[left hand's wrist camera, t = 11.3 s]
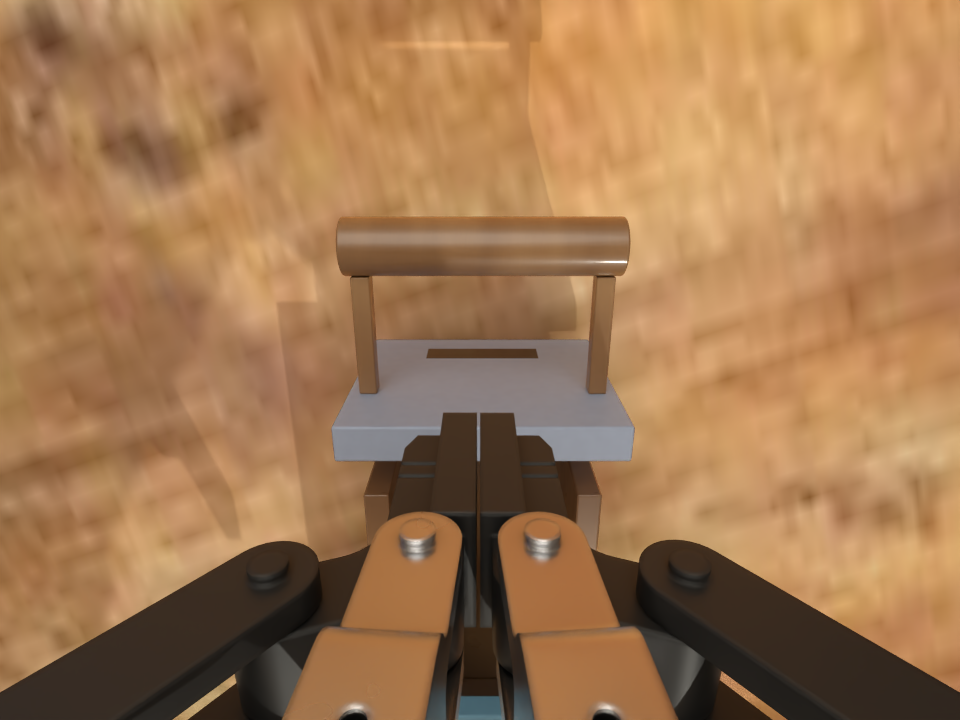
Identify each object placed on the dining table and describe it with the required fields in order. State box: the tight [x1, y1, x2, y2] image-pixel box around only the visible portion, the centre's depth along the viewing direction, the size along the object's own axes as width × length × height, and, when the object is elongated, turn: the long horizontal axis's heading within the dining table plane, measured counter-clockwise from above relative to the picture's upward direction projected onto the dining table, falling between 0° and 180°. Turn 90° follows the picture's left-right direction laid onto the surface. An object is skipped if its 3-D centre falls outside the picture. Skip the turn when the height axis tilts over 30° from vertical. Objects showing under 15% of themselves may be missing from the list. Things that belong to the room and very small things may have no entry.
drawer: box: [331, 217, 635, 696], centre depth 23 cm, size 25×9×8 cm, turn 0°
